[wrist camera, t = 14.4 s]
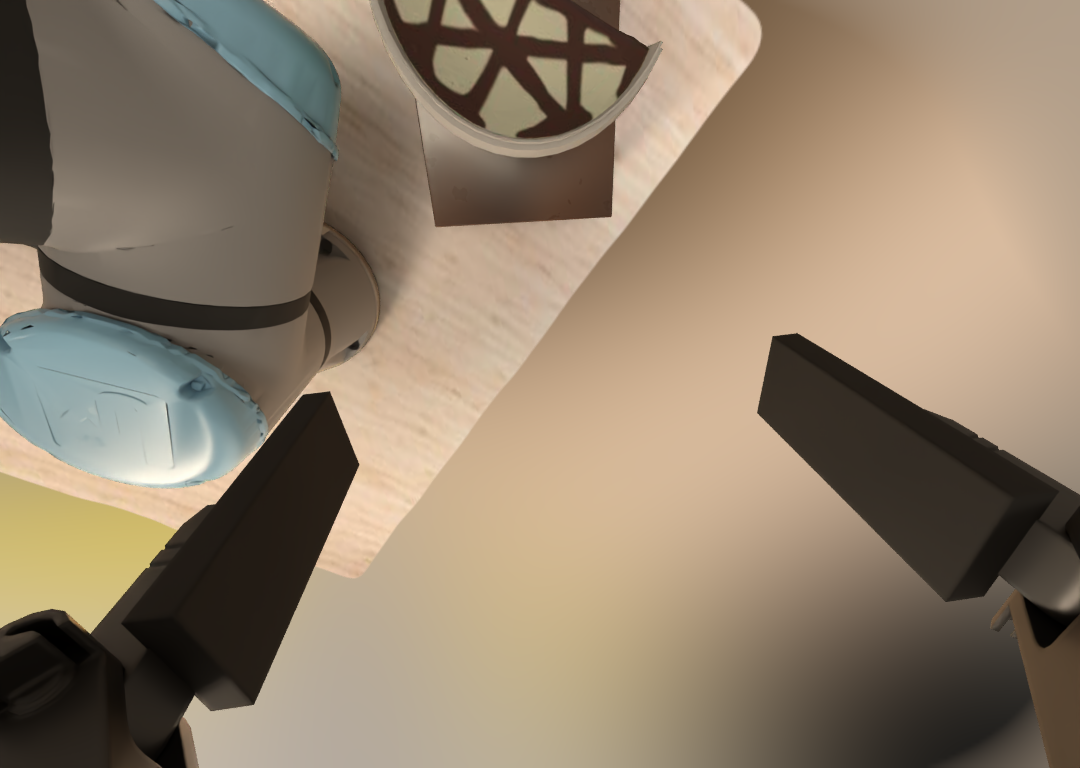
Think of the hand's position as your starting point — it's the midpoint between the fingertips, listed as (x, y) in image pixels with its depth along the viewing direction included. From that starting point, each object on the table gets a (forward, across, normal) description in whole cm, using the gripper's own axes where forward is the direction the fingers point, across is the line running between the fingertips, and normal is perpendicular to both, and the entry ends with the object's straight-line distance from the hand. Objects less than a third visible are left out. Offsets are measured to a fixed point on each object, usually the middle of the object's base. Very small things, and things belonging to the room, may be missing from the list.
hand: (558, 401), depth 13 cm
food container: (+19, 0, +10) cm, 22 cm away
